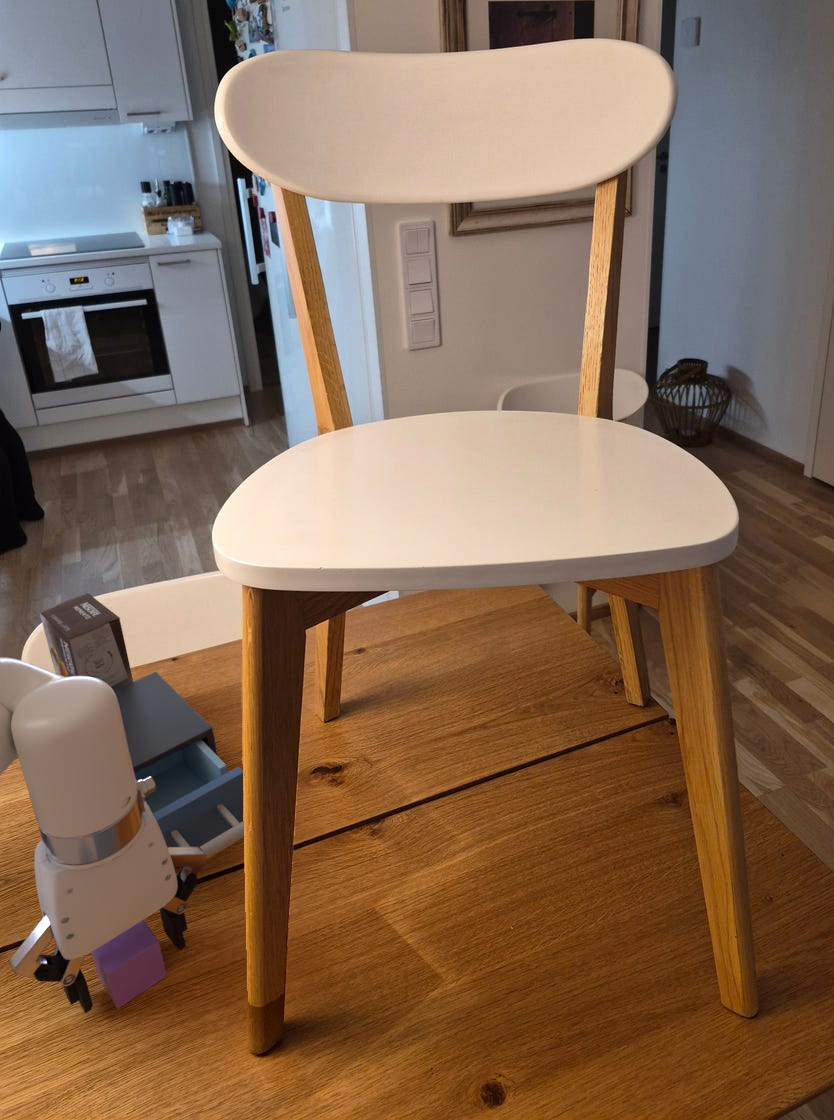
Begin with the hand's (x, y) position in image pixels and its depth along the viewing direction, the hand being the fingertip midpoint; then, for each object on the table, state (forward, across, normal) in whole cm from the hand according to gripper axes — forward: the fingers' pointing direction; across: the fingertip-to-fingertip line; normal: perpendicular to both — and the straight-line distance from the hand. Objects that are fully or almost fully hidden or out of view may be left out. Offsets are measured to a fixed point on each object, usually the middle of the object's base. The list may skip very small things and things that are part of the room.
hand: (130, 967), depth 76 cm
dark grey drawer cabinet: (+1, -11, -23) cm, 26 cm away
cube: (+1, 0, 0) cm, 1 cm away
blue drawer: (0, -11, -12) cm, 16 cm away
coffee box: (+1, -12, -37) cm, 39 cm away
